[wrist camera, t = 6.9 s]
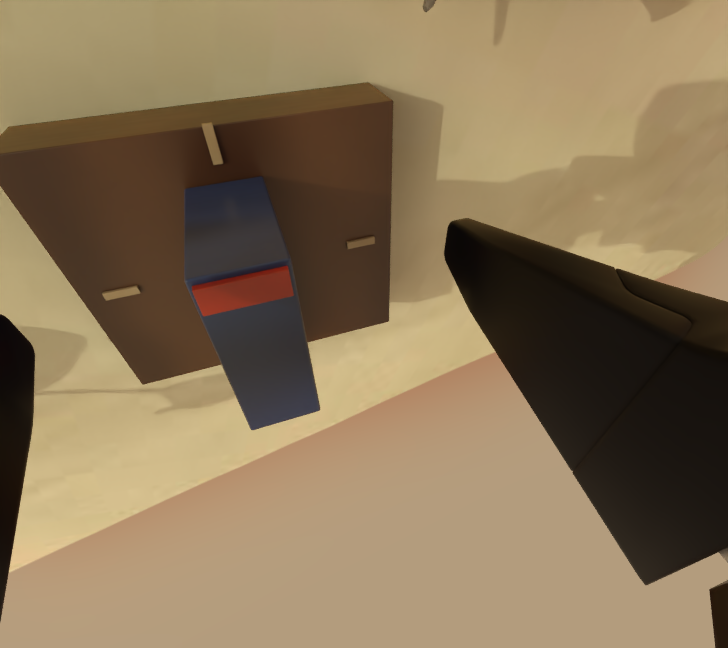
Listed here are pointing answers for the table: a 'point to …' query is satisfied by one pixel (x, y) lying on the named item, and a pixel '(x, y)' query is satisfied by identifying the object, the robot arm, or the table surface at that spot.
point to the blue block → (248, 298)
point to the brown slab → (199, 168)
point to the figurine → (428, 5)
